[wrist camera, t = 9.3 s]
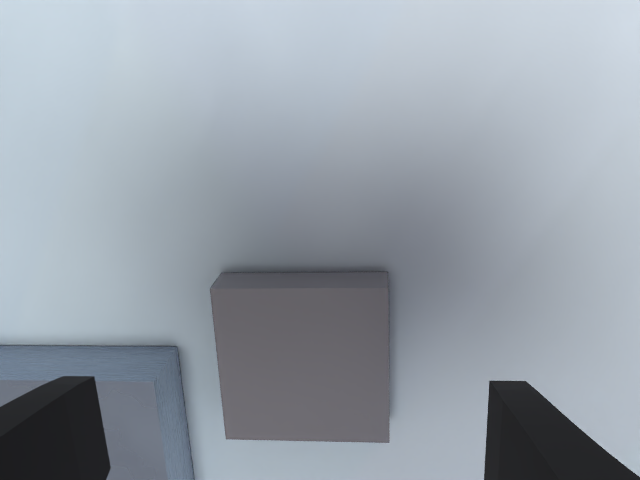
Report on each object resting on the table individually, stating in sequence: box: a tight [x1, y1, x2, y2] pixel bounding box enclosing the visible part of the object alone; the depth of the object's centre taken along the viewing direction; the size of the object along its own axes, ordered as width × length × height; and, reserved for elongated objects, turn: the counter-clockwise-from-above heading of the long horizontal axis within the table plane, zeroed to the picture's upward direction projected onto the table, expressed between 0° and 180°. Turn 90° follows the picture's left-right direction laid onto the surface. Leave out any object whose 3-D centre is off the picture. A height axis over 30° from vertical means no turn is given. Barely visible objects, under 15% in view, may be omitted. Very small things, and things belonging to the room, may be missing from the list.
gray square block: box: [210, 272, 389, 443], centre depth 21 cm, size 6×6×2 cm
